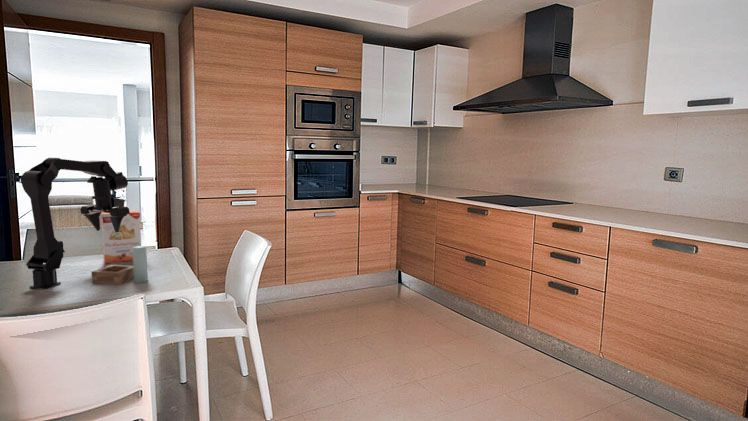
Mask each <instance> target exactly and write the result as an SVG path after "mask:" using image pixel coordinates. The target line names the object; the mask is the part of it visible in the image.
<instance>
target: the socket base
mask: <svg viewBox="0 0 748 421" xmlns="http://www.w3.org/2000/svg"><path fill="white" fill-rule="evenodd" d="M130 280H134V270H133V265H126V264H110V265H107V266H104V267H100V268H98V269H96V270H92V271H91V283H92V284H106V285H107V284H110V285H121V284H124V283H125V282H128V281H130Z"/></svg>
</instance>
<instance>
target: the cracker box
mask: <svg viewBox="0 0 748 421" xmlns="http://www.w3.org/2000/svg"><path fill="white" fill-rule="evenodd" d="M129 212H130V214H127V216H124V218H123V219H122V221H121V225H120V228H119V232H115V230H114V227H113V224H112V222H111V219H110V217H112V216H111V215H110V213H104V212H101V214H100V216H101V232H102V249H103V250H102V251H103V253H102V254H103V261H104V264H110V263H120V262H121V263H122V262H130V261H131V262H133V250H132V248H133V247H136V246H142V236H141V235H142V234H141V230H142V229H141V212H140V211H138V210H129Z"/></svg>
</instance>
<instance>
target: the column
mask: <svg viewBox="0 0 748 421" xmlns="http://www.w3.org/2000/svg"><path fill="white" fill-rule="evenodd" d="M132 250H133V261H132V266H133V270H134V278H133V283H136V284H138V283H139V284H140V283H142V284H143V283H146V282H148V281H149V277H148V272H149V271H148V252H147V246H146V245H145V246H144V245H141V246H136V247H133V248H132Z"/></svg>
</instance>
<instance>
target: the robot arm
mask: <svg viewBox="0 0 748 421" xmlns="http://www.w3.org/2000/svg"><path fill="white" fill-rule="evenodd" d="M61 170H63V171H72V172H73V171H74V172H75V171H76V172H82V173H85V174H87V175H90V178H89V179H88V180H87V184H92V188H93V194H94V195H92V196H91V199H92V200H94V202H95V204H93V203H91V204H87V205H83V206H81V207H80V209H79V210H80V214H81V215H83V216H84V217H85V218H86V219H88V221H89V222H90V223H91V224H92V226H93V227H94V228H95V230H96V231H97V232H98V231H101V222H100V221H101V220H100V216H101V213H102V212H104V213H110V215H111V216H112V217H110V219H111V222H112V224H113V227H114V230H115V232H119V228H120V225H121V221H122V219H123V218H124V216H127V214H130V212H129V211H130V208H129V207H128V206H125V201H126V200H125V199H123V198H117V197H115V195H114V193H113V194H112V191H117V190H121V189H125V188H127V187H128V183H129V181H128V178H127V177H126V176H125V175H123V174H124V173H123V172H122V171H115V170H114V169H113V167H112V166H111V164H110V163H109V161H106V160H85V161H83V160H72V159H67V158H66V159H65V158H60V157H47V158H45V159H44V160H43V161H42V162H40V163H38V164H36V165H35V166H33V167H32V168H31V167H30V169H29V170H27V171H25V172H24V173H23V174H22V175H21V176H20V183H21V186H22V188H23V191H24V193H26V195H27V196H28V197H29V200H30V203H31V210H32V216H33V222H34V227H35V234H36V241H35V244H34V246H33V254H32V256H31V257H30V258H29V259H28V261H27V262H26V264H25V265H26V267H27V269H28V270H32V283H33V284H32V285H29V289H40V290H42V289H43V290H47V289H50V288H52V287H55V286H58V285H61V284H62V282H59V281H58V276H57V275H58V274H57V273H58V272H57V270H58V269H60V267H61V264H62V261H63V260H62V259H64V253H65V249H64V242H63V240H57V238H56V237H55V232H54V226H53V219H52V218H53V217H52V213H51V206H50V201H49V196H50V194H51V192H52V189H53V188H52V187H53V181H54V180H55V179H57V177H58V175H59V172H60V171H61Z"/></svg>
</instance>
